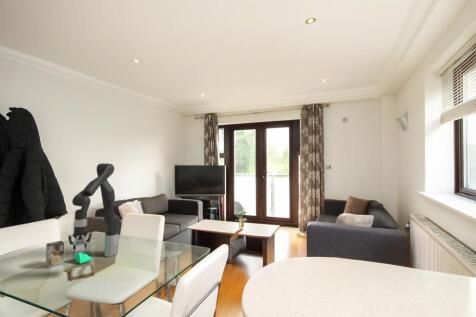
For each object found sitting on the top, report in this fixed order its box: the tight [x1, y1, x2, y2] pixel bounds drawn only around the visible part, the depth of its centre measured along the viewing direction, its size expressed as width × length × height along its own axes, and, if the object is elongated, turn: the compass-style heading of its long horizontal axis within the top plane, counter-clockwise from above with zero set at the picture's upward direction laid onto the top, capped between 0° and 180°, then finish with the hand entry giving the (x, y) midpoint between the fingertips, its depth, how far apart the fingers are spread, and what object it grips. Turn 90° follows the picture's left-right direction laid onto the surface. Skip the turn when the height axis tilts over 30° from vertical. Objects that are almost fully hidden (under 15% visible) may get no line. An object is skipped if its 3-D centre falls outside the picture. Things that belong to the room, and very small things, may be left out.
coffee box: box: [45, 240, 65, 269], centre depth 173 cm, size 9×6×16 cm
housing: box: [74, 239, 85, 255], centre depth 165 cm, size 5×8×6 cm, turn 35°
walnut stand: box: [69, 264, 95, 282], centre depth 165 cm, size 13×13×2 cm
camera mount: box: [73, 251, 92, 265], centre depth 183 cm, size 12×8×10 cm, turn 54°
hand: (79, 248), depth 165 cm, fingers closed on housing, 5 cm apart
